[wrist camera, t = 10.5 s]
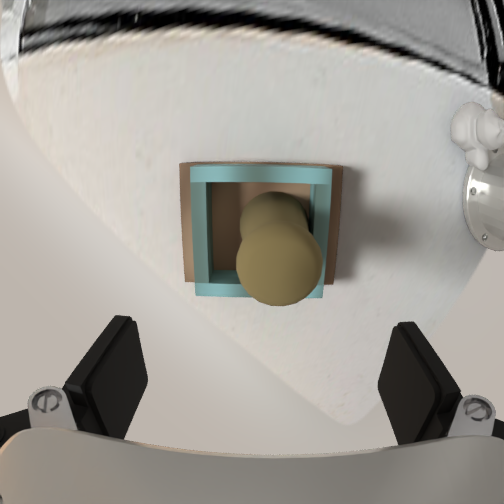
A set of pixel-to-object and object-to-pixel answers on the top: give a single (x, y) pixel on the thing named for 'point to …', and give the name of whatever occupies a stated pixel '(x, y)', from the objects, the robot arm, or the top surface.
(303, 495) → the robot arm
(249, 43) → the top surface
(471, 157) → the rubber duck
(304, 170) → the board
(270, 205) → the cork
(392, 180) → the top surface
